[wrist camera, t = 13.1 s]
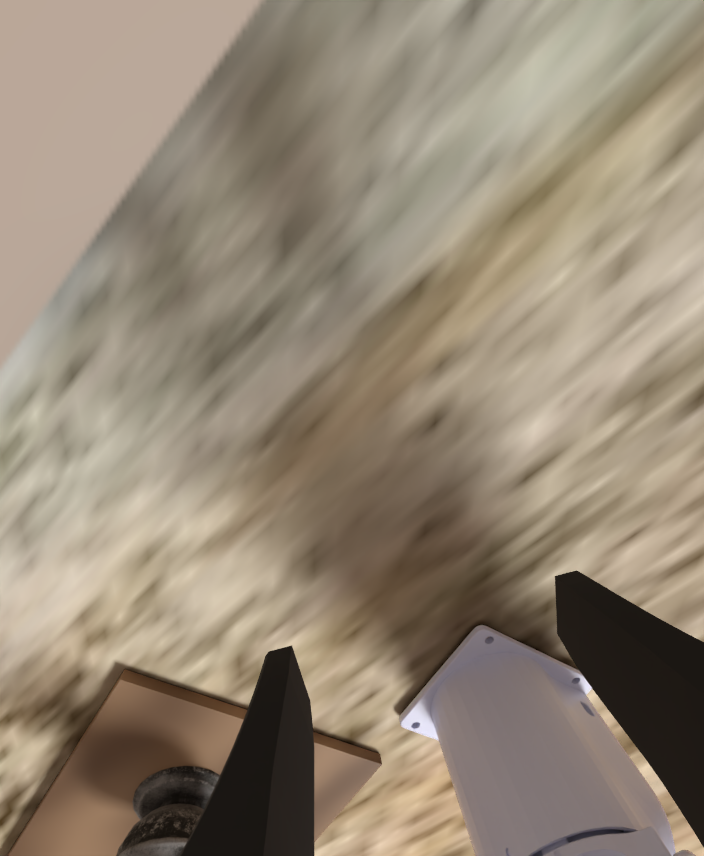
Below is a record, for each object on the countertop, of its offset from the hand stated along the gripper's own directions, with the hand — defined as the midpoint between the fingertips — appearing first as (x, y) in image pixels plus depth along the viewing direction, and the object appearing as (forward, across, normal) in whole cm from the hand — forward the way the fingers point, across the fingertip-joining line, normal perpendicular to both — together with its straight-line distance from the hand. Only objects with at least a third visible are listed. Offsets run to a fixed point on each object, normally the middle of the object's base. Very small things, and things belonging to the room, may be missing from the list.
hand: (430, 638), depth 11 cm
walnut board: (+9, +14, +18) cm, 25 cm away
